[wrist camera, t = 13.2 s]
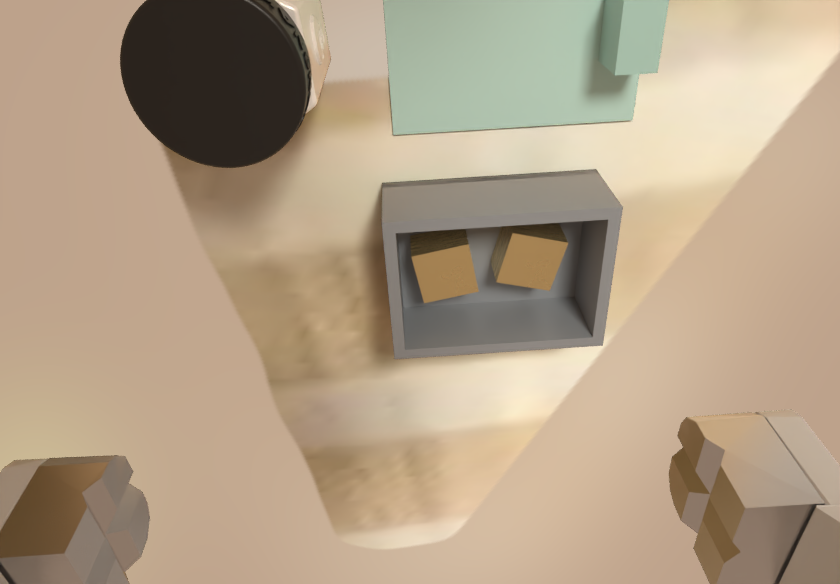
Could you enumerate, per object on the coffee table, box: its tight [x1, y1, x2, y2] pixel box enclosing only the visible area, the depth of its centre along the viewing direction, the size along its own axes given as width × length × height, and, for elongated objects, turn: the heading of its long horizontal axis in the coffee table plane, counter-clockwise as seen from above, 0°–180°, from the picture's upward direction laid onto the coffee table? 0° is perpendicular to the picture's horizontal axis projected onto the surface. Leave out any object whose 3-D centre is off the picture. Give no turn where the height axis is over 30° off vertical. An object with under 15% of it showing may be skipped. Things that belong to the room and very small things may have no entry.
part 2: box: [490, 223, 568, 291], centre depth 44 cm, size 4×4×3 cm
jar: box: [120, 0, 331, 168], centre depth 33 cm, size 9×8×12 cm
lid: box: [383, 0, 669, 135], centre depth 37 cm, size 12×16×4 cm
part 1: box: [410, 229, 479, 303], centre depth 45 cm, size 4×4×3 cm
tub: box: [382, 169, 623, 359], centre depth 44 cm, size 11×15×6 cm
